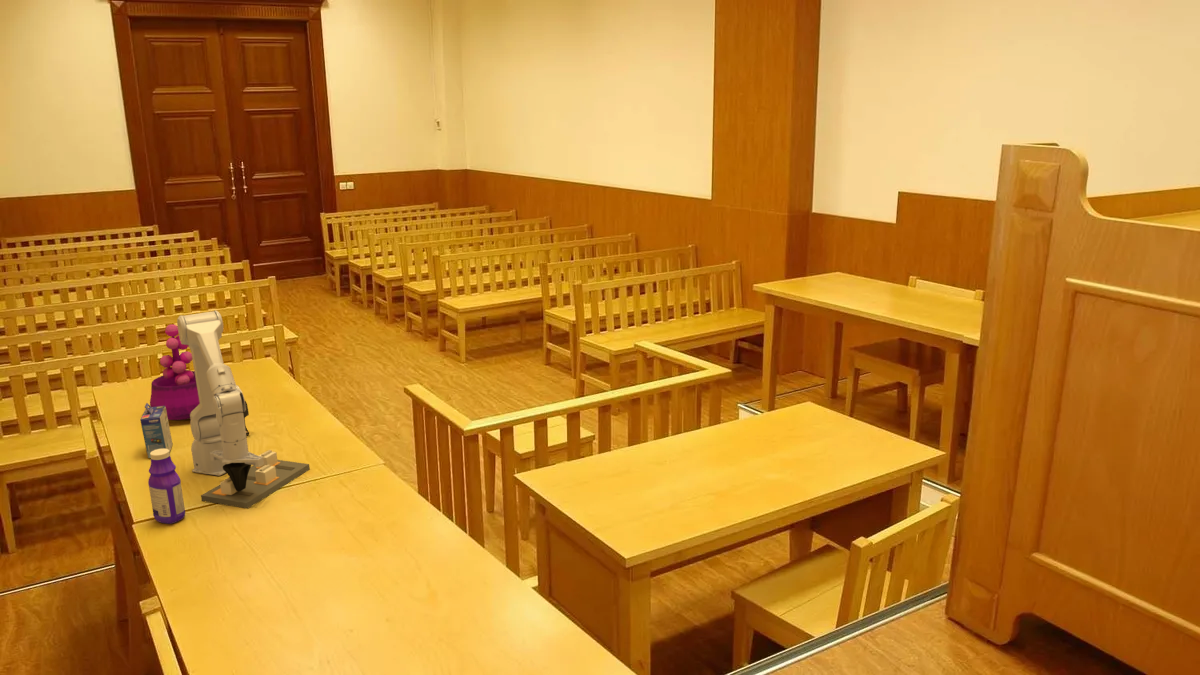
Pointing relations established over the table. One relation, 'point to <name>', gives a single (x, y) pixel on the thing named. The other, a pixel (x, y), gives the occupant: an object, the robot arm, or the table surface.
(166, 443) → the ink cartridge box
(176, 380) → the decorative plant
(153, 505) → the bottle
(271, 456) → the switch
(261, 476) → the switch
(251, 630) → the table surface
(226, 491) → the switch
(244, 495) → the switch board
